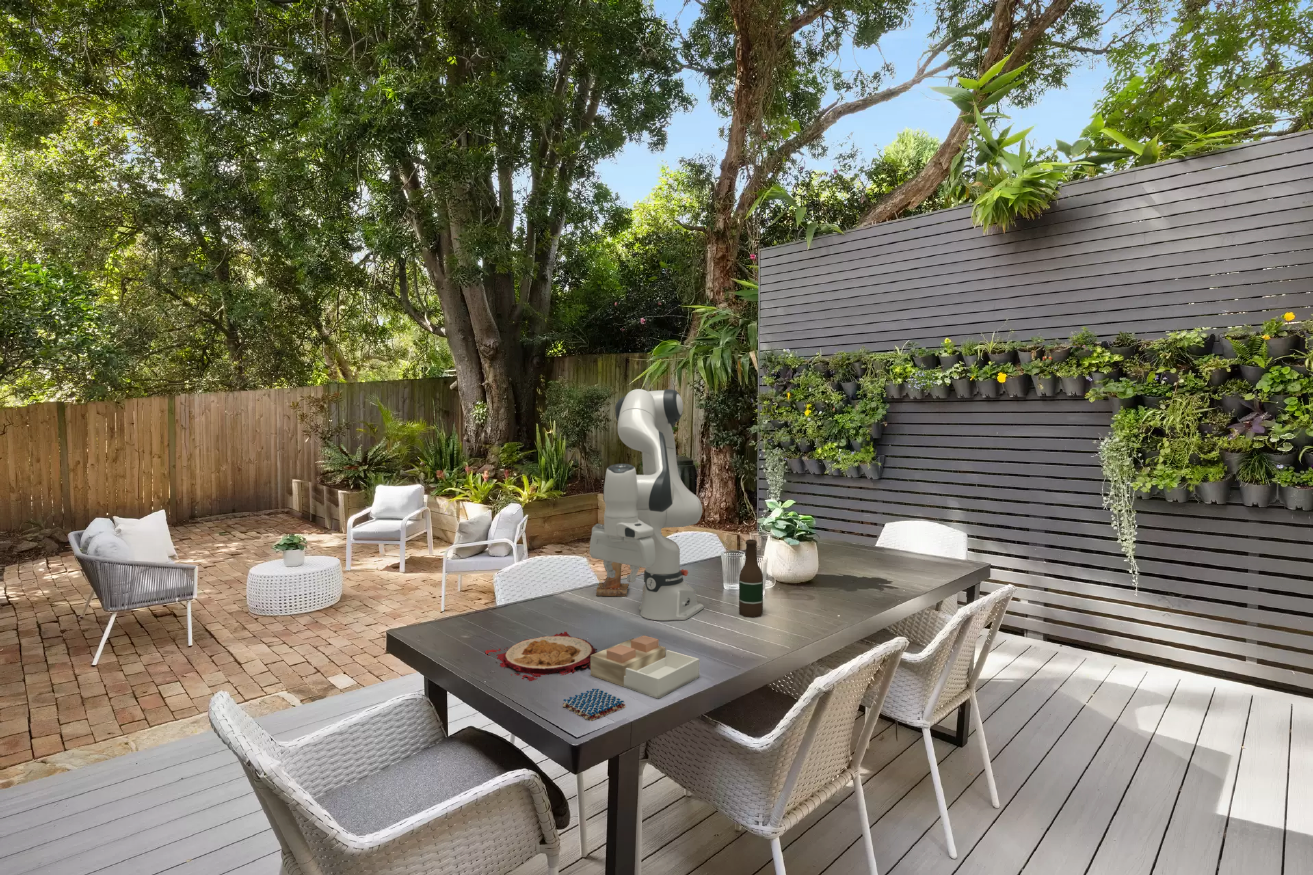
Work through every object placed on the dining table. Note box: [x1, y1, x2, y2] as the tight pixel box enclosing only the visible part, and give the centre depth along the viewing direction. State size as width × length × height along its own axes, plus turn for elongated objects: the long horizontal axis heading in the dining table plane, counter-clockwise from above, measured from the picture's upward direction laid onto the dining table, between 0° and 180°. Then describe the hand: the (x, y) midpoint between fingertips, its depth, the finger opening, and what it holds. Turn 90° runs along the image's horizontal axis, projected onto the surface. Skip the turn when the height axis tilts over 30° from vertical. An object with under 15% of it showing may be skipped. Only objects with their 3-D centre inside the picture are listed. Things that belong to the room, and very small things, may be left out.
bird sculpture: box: [595, 562, 630, 597], centre depth 239 cm, size 11×12×32 cm
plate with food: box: [485, 631, 598, 682], centre depth 175 cm, size 25×26×4 cm
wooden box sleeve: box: [590, 637, 667, 688], centre depth 167 cm, size 16×11×5 cm
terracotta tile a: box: [631, 634, 660, 652], centre depth 169 cm, size 5×5×2 cm
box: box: [624, 649, 700, 700], centre depth 160 cm, size 16×10×4 cm, turn 141°
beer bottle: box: [738, 538, 764, 618], centre depth 213 cm, size 8×8×24 cm
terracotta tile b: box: [607, 645, 636, 663], centre depth 162 cm, size 5×5×2 cm
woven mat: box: [562, 688, 627, 722], centre depth 146 cm, size 10×11×2 cm
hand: (621, 579), depth 173 cm, fingers open, 6 cm apart
